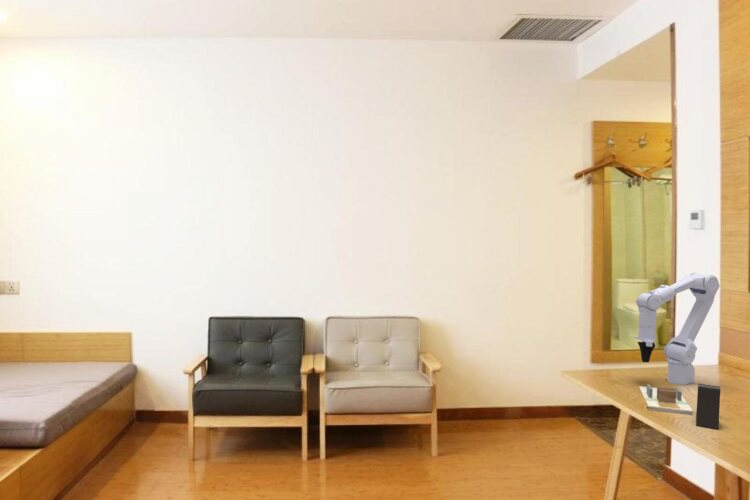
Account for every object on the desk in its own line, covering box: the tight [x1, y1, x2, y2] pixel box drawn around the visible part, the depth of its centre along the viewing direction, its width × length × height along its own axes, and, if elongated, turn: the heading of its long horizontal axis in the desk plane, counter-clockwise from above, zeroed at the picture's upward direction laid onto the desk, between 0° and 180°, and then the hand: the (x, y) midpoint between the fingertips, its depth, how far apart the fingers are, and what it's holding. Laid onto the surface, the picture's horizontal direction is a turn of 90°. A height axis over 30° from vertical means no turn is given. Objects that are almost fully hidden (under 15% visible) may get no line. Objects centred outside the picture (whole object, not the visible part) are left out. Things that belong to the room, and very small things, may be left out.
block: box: [656, 385, 677, 405], centre depth 196 cm, size 5×5×4 cm
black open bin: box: [695, 383, 721, 430], centre depth 178 cm, size 9×6×12 cm, turn 150°
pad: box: [644, 398, 689, 405], centre depth 195 cm, size 4×13×2 cm, turn 72°
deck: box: [638, 384, 694, 416], centre depth 199 cm, size 24×13×4 cm, turn 162°
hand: (645, 361), depth 215 cm, fingers closed
